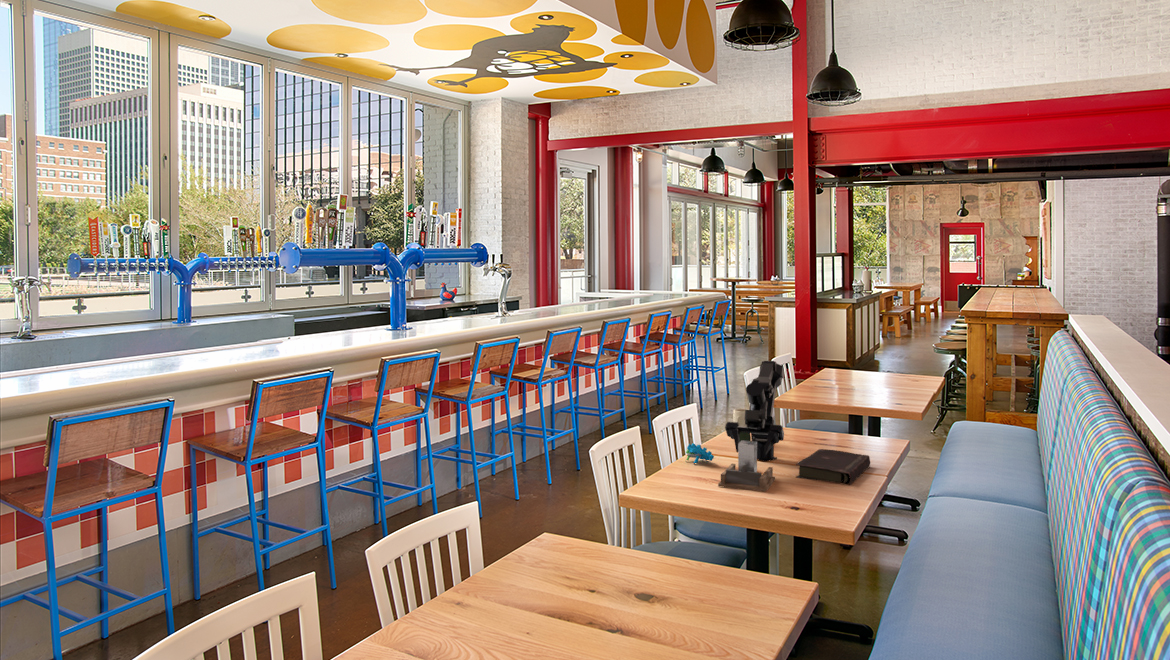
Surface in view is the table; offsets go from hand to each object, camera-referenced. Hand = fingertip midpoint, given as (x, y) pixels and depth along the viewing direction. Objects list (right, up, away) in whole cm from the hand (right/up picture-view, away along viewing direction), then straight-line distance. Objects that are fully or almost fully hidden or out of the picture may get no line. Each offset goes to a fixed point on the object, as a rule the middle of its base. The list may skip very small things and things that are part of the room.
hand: (751, 452), depth 250 cm
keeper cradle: (-2, -9, -5) cm, 10 cm away
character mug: (+7, -4, +49) cm, 50 cm away
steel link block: (-2, -8, -4) cm, 9 cm away
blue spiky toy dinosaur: (-14, -7, +21) cm, 26 cm away
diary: (+29, -8, +6) cm, 30 cm away
